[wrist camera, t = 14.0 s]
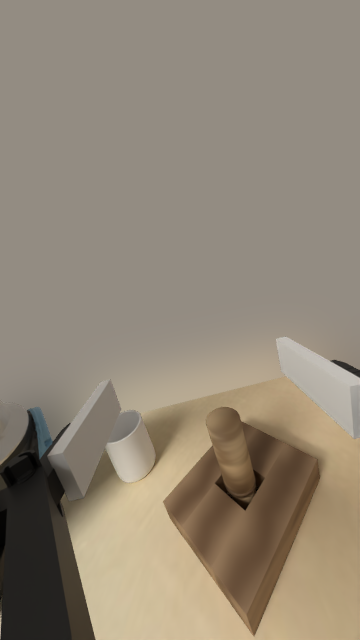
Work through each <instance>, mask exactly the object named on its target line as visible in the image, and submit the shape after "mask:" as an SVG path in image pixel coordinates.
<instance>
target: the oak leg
mask: <svg viewBox="0 0 360 640" xmlns="http://www.w3.org/2000/svg"><path fill="white" fill-rule="evenodd" d="M206 425H207V428H208V431H209V434H210V438H211V441H212V444H213V448H214V451H215V454H216V457H217V461H218V464H219V467H220V470H221V474H222V477H223V481H224V485H225V487H226V489H227V491H228V492H229V493H230V494H231V496H232V499H233V500H234V501H235V502H236V503H237V504H238V505H239V506H240V507H241V508H243V509H244V510H246V509H247V507H248V505H249V504H250V502H251V501H252V499H253V497H254V496H255V494H256V493H255V488H256V478H255V474H254V472H253V468H252V464H251V460H250V456H249V452H248V448H247V444H246V440H245V436H244V432H243V428H242V424H241V420H240V416H239V414H238V412H237V411H236V410H234V409H232V408H229V407H220V408H217V409H215V410H213V411H211V412H210V413H209V415H208V416H207V418H206Z"/></svg>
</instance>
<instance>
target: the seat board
mask: <svg viewBox="0 0 360 640" xmlns="http://www.w3.org/2000/svg"><path fill="white" fill-rule="evenodd" d="M241 424H242V428H243V432H244V436H245V440H246V444H247V448H248V452H249V456H250V460H251V464H252V468H253V472H254V474H255V478H256V486H257V487H258V488H259V489H258V491H257V492H256V494H255V496H254V497H253V499H252V501H251V502H250V504H249V505H248V507H247V509H246V510H244V509H243V508H241V507H240V506H239V505H238V504H237V503H236V502H235V501H234V500H232V499H231V498H230V497H229V496H228V495H227V494H226V492H227V489H226V487H225V485H224V481H223V477H222V474H221V470H220V467H219V464H218V461H217V457H216V454H215V451H214V448H213V446H212V447H211V448H210V449H209V450H208V451H207V452H206V453H205V455H204V456H203V457H202V458H201V459H200V460H199V461H198V463H197V464H196V465H195V466H194V467H193V468H192V469H191V470H190V472H189V473H188V474H187V475H186V476H185V477H184V478H183V479H182V481H181V482H180V483H179V484H178V485H177V486H176V487H175V488H174V490H173V491H172V492H171V493H170V494H169V495H168V496H167V497H166V499H165V500H164V501H163V503H164V505H165V507H166V510H167V512H168V514H169V517H170V519H171V520H172V522H173V523H174V524H175V526H176V527H177V529H178V530H179V531H180V533H181V534H182V536H183V537H184V539H185V540H186V541H187V543H188V544H189V546H190V547H191V548H192V550H193V551H194V553H195V554H196V555H197V557H198V558H199V560H200V561H201V562H202V564H203V565H204V567H205V568H206V570H207V571H208V572H209V574H210V575H211V577H212V578H213V579H214V581H215V582H216V584H217V585H218V586H219V588H220V589H221V591H222V592H223V593H224V595H225V596H226V598H227V599H228V601H229V602H230V603H231V605H232V606H233V608H234V609H235V610H236V612H237V613H238V615H239V616H240V617H241V619H242V620H243V622H244V623H245V624H246V626H247V627H248V629H249V630H250V632H251V633H252V634H253V636H254V635H255V633H256V630H257V628H258V626H259V623H260V621H261V618H262V616H263V614H264V611H265V609H266V606H267V604H268V602H269V599H270V597H271V594H272V592H273V590H274V587H275V585H276V582H277V580H278V578H279V575H280V573H281V570H282V568H283V566H284V563H285V561H286V558H287V556H288V553H289V551H290V549H291V546H292V544H293V541H294V539H295V537H296V534H297V532H298V529H299V527H300V525H301V522H302V520H303V517H304V515H305V513H306V510H307V508H308V505H309V503H310V501H311V498H312V496H313V493H314V491H315V489H316V486H317V484H318V481H319V479H320V475H319V468H318V461H317V459H316V458H314V457H312V456H310V455H308V454H306V453H304V452H302V451H300V450H298V449H296V448H294V447H292V446H290V445H288V444H286V443H284V442H282V441H280V440H278V439H276V438H274V437H272V436H270V435H268V434H266V433H264V432H262V431H260V430H258V429H256V428H254V427H252V426H250V425H248V424H246V423H244V422H242V421H241Z"/></svg>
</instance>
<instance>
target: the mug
mask: <svg viewBox="0 0 360 640" xmlns="http://www.w3.org/2000/svg"><path fill="white" fill-rule="evenodd" d="M105 450H106V452H107V454H108V456H109V458H110V460H111V462H112V464H113V466H114V468H115V470H116V472H117V474H118V476H119V478H120V479H121V480H122V481H124V482H127V483H133V482H137V481H139V480H141V479H142V478H144V477H145V476H146V475H147V474H148V473H149V472H150V471H151V469H152V467H153V465H154V463H155V458H156V454H155V450H154V447H153V444H152V442H151V439H150V437H149V434H148V432H147V429H146V427H145V424H144V422H143V419H142V417H141V415H140V413H139V412H138V411H135V410H129V411H124V412H122V413H120V414H119V416H118V418H117V421H116V423H115V425H114V428H113V430H112V433H111V435H110V437H109V440H108V442H107V444H106V447H105Z"/></svg>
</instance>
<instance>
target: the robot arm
mask: <svg viewBox="0 0 360 640" xmlns="http://www.w3.org/2000/svg"><path fill="white" fill-rule="evenodd" d="M276 343H277V349H278V356H279V362H280V368H281V372H282V373H283V374H284V375H285V376H287V377H288V378H289V379H290V380H291V381H292V382H293V383H294V384H295V385H296V386H297V387H298V388H300V389H301V390H302V391H303V392H304V393H305V394H306V395H307V396H308V397H309V398H310V399H311V400H312V401H314V402H315V403H316V404H317V405H318V406H319V407H320V408H321V409H322V410H323V411H324V412H325V413H327V414H328V415H329V416H330V417H331V418H332V419H333V420H334V421H335V422H336V423H337V424H338V425H339V426H341V427H342V428H343V429H344V430H345V431H346V432H347V433H348V434H349V435H350V436H351V437H352V438H354V439H356V438H360V370H358V369H356V368H354V367H352V366H350V365H348V364H347V363H344V362H340V361H337V360H332V361H328V360H327V359H325V358H323V357H322V356H320V355H318V354H316V353H314V352H312V351H311V350H309V349H307V348H305V347H304V346H302V345H300V344H298V343H297V342H295V341H293V340H291V339H289V338H288V337H282V338H278V339H276ZM120 411H121V407H120V404H119V401H118V399H117V396H116V393H115V390H114V388H113V385H112V383H111V380H106V381H102V382H101V383H100V384H99V385H98V387H97V388H96V390H95V391H94V392H93V394H92V395H91V396H90V398H89V399H88V401H87V402H86V403H85V405H84V406H83V408H82V409H81V410H80V412H79V413H78V414H77V416H76V417H75V418H74V420H73V421H72V423H69V424H68V425H67V426H66V427H65V428H64V429H62V431H61V432H60V433H59V434H58V436H57V437H56V439H55V440H54V441H52V439H51V436H50V433H49V430H48V427H47V424H46V421H45V419H44V416H43V413H42V411H41V409H40V408H39V407H35V408H32V409H29V410H27V411H26V410H25V409H24V408H23V407H22V406H21V405H19V404H15V403H2V401H1V400H0V599H1V596H2V593H3V599H2V619H1V639H0V640H95V636H94V632H93V628H92V624H91V620H90V616H89V612H88V608H87V603H86V599H85V595H84V591H83V587H82V583H81V579H80V575H79V571H78V567H77V563H76V559H75V554H74V550H73V546H72V542H71V538H70V534H69V530H68V526H67V522H66V518H65V514H64V510H63V506H62V504H61V502H60V500H61V498H62V496H63V494H64V492H65V494H66V496H67V498H68V500H69V501H72V500H77V499H81V498H84V496H85V494H86V492H87V489H88V487H89V485H90V482H91V480H92V478H93V475H94V473H95V470H96V468H97V466H98V463H99V461H100V459H101V456H102V454H103V451H104V449H105V447H106V444H107V442H108V440H109V437H110V435H111V433H112V430H113V428H114V425H115V423H116V421H117V418H118V416H119V414H120Z"/></svg>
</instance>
